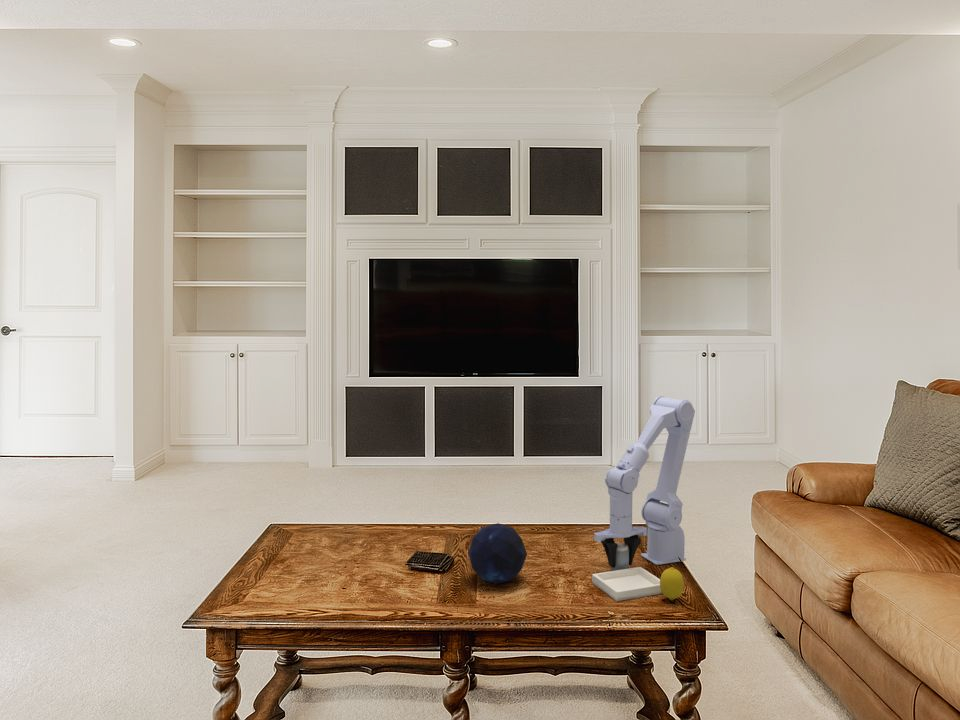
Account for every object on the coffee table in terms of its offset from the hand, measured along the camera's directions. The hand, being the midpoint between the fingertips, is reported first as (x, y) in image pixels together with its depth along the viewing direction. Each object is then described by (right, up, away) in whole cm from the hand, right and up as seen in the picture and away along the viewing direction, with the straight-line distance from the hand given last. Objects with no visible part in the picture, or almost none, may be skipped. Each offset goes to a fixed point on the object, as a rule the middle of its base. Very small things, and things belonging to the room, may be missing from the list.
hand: (620, 565), depth 194 cm
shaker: (0, -2, 0) cm, 2 cm away
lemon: (+9, -4, -18) cm, 20 cm away
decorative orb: (-32, -3, -5) cm, 33 cm away
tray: (0, -3, -10) cm, 11 cm away
